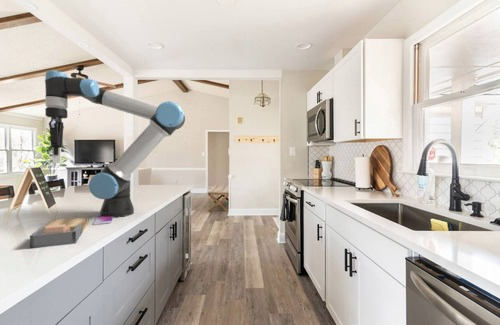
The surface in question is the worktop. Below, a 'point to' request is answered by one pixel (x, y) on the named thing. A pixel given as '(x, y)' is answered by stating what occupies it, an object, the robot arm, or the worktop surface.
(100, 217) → the smartphone
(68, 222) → the board
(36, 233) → the tray
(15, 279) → the worktop surface
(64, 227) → the tile
